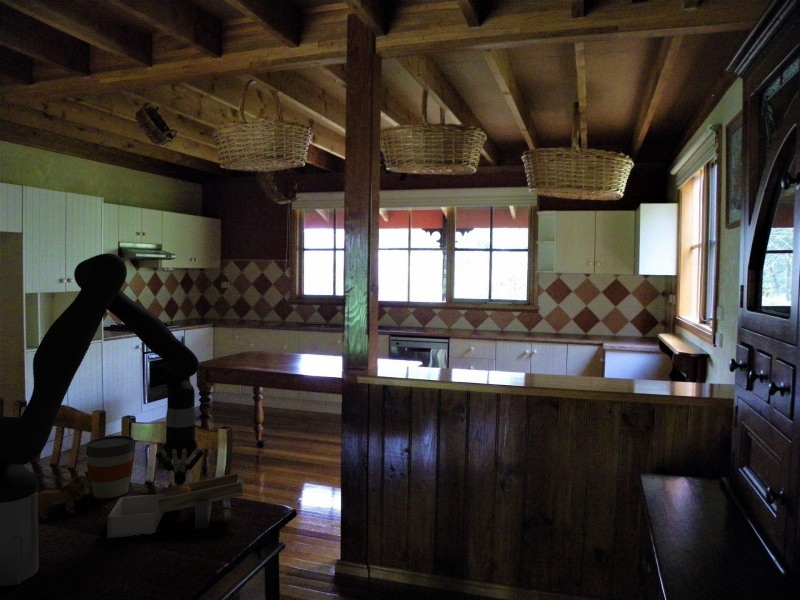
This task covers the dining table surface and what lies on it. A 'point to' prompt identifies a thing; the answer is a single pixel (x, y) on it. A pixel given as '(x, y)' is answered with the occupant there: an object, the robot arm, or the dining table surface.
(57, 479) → the dining table surface
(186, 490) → the ball
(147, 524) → the tray
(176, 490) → the lever
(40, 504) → the lion figurine
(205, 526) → the fulcrum
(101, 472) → the reusable coffee cup
